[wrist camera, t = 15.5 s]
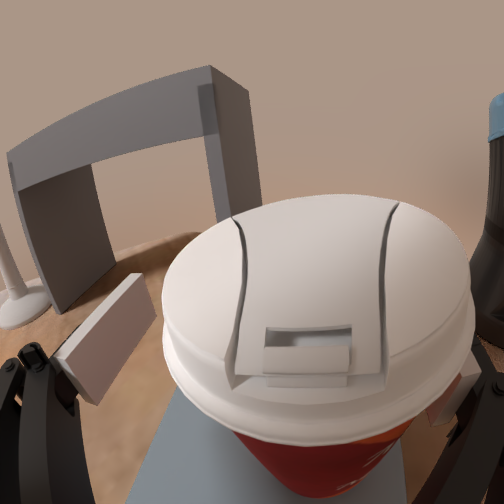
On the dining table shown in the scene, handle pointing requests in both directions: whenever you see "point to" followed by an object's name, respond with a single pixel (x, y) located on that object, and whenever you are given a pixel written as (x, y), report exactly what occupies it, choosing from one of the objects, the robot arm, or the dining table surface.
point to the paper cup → (319, 330)
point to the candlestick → (19, 293)
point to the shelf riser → (117, 143)
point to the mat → (235, 468)
